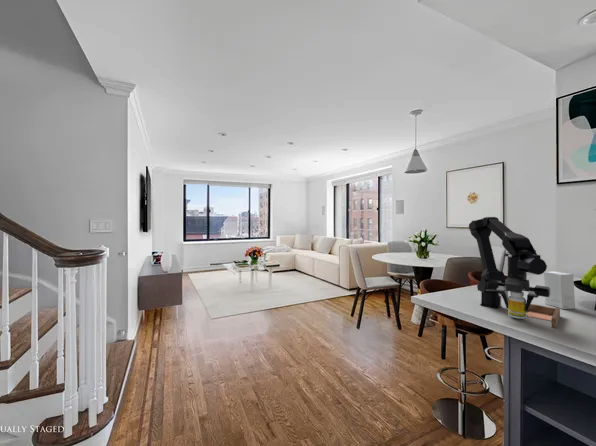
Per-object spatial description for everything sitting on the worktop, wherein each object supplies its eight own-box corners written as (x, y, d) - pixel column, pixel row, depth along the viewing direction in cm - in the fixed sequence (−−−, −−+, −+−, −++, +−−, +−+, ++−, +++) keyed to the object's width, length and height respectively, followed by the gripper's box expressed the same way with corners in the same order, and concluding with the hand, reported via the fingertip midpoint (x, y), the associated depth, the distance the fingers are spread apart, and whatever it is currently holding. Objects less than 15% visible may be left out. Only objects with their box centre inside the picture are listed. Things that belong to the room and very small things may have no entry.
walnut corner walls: (509, 318, 106) (509, 310, 106) (517, 308, 118) (517, 301, 118) (556, 328, 97) (556, 319, 97) (559, 316, 108) (559, 308, 108)
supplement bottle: (507, 313, 110) (507, 289, 110) (525, 315, 107) (525, 291, 107) (508, 317, 105) (508, 292, 105) (526, 320, 102) (526, 294, 102)
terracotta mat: (526, 316, 109) (526, 315, 109) (529, 311, 114) (529, 310, 114) (553, 321, 103) (553, 320, 103) (555, 316, 108) (555, 315, 108)
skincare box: (575, 309, 117) (575, 274, 117) (561, 309, 116) (562, 274, 116) (556, 303, 125) (556, 270, 125) (543, 303, 125) (543, 270, 125)
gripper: (482, 269, 107) (482, 309, 107) (547, 276, 94) (547, 321, 94) (490, 265, 115) (489, 303, 115) (550, 271, 101) (550, 313, 101)
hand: (516, 309), depth 106 cm, fingers closed on supplement bottle, 5 cm apart
